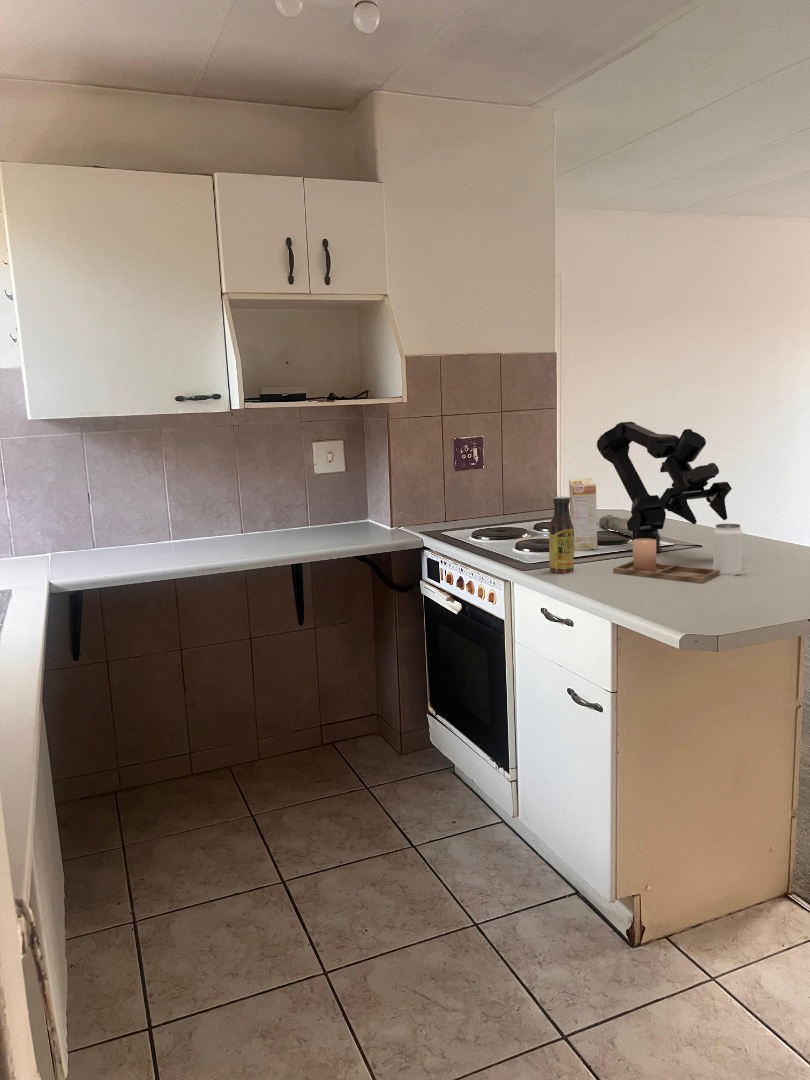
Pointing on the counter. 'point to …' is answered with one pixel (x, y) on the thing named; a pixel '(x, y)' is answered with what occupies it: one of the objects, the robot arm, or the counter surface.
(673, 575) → the wooden divided tray
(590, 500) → the coffeecake box
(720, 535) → the can
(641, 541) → the jar
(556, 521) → the sauce bottle
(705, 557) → the counter surface
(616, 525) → the elongated rock
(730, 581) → the counter surface
